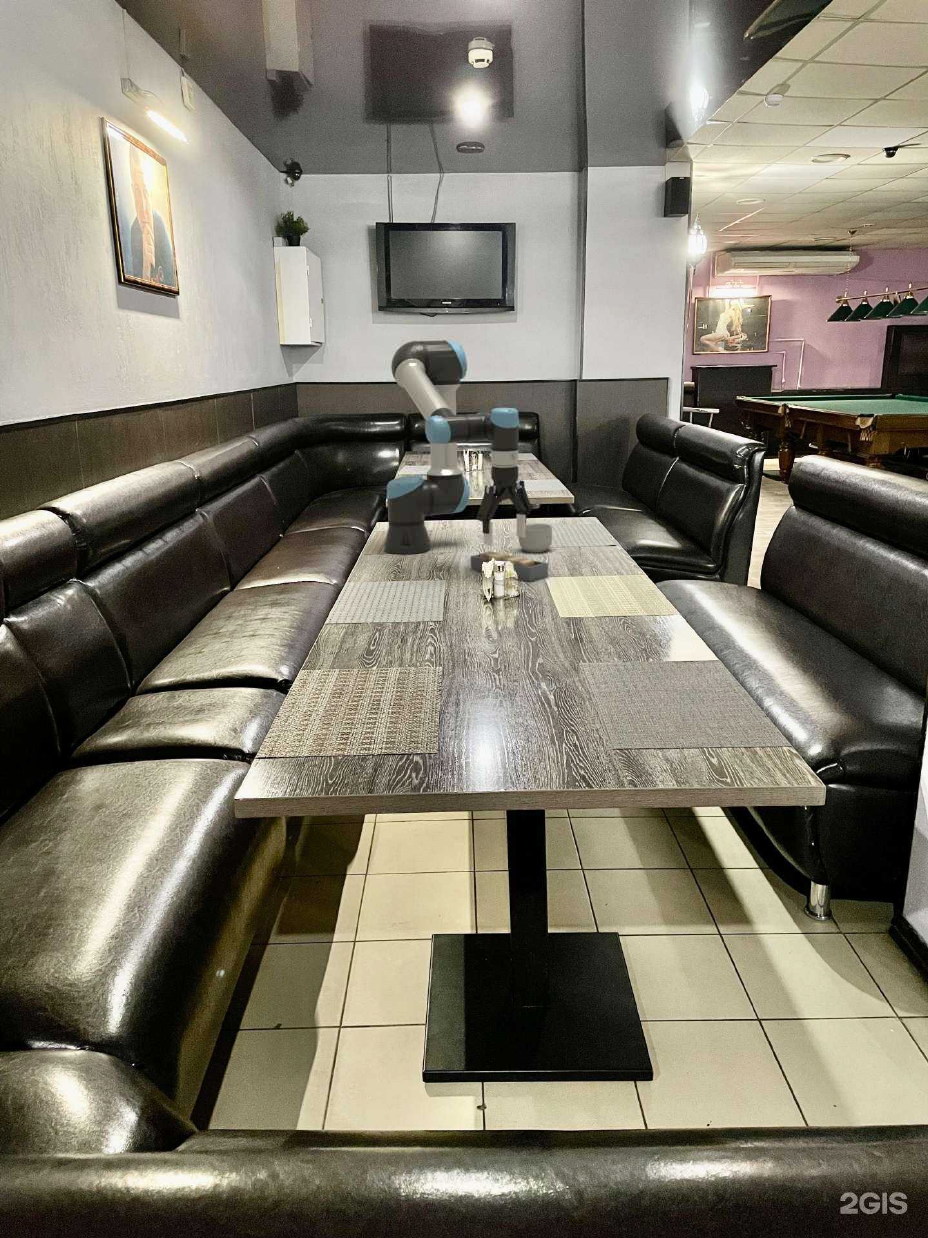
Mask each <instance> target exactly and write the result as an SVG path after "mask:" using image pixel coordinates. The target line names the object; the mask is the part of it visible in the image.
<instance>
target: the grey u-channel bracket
mask: <svg viewBox="0 0 928 1238" xmlns="http://www.w3.org/2000/svg"><path fill="white" fill-rule="evenodd" d="M483 562H488V559H487V558H482V557H480V554H475V555H471V556H470V571H476V572H481V573H483V572H482V564H483Z"/></svg>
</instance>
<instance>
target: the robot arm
mask: <svg viewBox="0 0 928 1238" xmlns="http://www.w3.org/2000/svg"><path fill="white" fill-rule="evenodd" d="M390 367H391V373H392V376H393V379H394V380H395V381H396V383H397V385H398V386H400V387H401V388H403V389H404V390H405V391H406V392H407V393H408V395H409V397H410V398H411V400H412V401H413V403H414V404H415V406H416V408H417V409H418V411H419V412H420V414H421V415H422V417H423V418H424V420H425V424H424V432H425V436H426V439H427V441H428V442H429V444H430V445H429V446H430V450H429V451H430V468H429V469H428V470H427V472H426V479H424V478H423V476H422V475H405V476H402V477H401V476H400V477H397V478H394V479H391V480H390V481H388V483H387V485H386V501H387V518H388V519H387V520H388V522H387V523H388V529H387V533H386V537H385V540H384V543H383V544H384V545H383V547H384V549H383V550H384V551H385V552H386V553H389V554H393V555H415V554H421V553H425V552H428V551H430V550H431V549H432V542H431V539H430V537H429V534H428V531H427V529H426V526H425V524H426V522H425V517H426V516H436V515H446V514H449V515H452V514H455V513H456V514H457V513H461V512H462V511H463V510H465V508H466V507H467V506H468V504H469V499H470V485H469V480H468V479H467V477H465V476H463V471H462V470H461V469H460V468H459V466H458V443H467V442H470V443H471V442H483V441H484V442H485V441H487V442H490V443H491V446H490V452H491V454H490V456H491V457H490V463H491V465H492V466H491V467H490V469H491V472H490V474H491V477H490V478H491V480H492V482H493V483H492V484H493V485H489V484H488V485H485V486H484V490H483V492H484V494H483V497H482V499H481V503H480V505H479V509H478V513H477V515H476V520H477V521H479V522H482V534H483V545H486V546H493V544H494V543H493V540H494V537H493V536H494V535H493V533H494V532H493V524H494V523H493V521H492V518H493V517H494V515H495V513H496V510H497V509H498V508H499V506H500V503H502V501H506V500H508V499H509V500H510V501H511V503H512V505H513V506H514V507H515V509H516V511H517V512H518V513H516V537H518V538H519V537H523V538H524V537H525V525H526V524H527V515H530V513H531V511H532V508H533V507H532V505H531V502H530V500H529V496H528V494H527V490H526V488H525V481H524V480H522V479H521V480H520V479H519V466H518V464H519V441H520V440H519V432H520V431H519V429H520V420H519V411H518V410H517V409H516V408H514V407H511V408H510V407H497V408H492V410H491V411H490V412H489V411H485V412H478V413H471V414H457V396H456V395H457V393H456V391H457V390H458V389H459V387H460V386H461V380H463V379H464V378H465V377H466V376H467V371H468V361H467V356H466V353H465V349H464V348H463V347H462V346H461V344H460V343H459V342H457V341H455V340H445V339H443V340H412V341H409V342H405V343H404V344H402V345H401V346H400V347H399V348H398V349H397V350H396V351H395V353H394V354H393V357H392V360H391V365H390Z"/></svg>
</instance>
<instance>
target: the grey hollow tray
mask: <svg viewBox="0 0 928 1238" xmlns="http://www.w3.org/2000/svg"><path fill="white" fill-rule="evenodd" d="M514 569H515V570H516V573H517V575H518V579H517V580H518V581H521V582H522V581H523V582H528V583H532V582H537V581H539V580H542V579H543V580H544V579H546V578H548V577H549V563H548V562H543V561H538V560H534V566H531V567H529V566H523V565H518V564H515V565H514Z"/></svg>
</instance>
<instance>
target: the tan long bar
mask: <svg viewBox="0 0 928 1238" xmlns="http://www.w3.org/2000/svg"><path fill="white" fill-rule="evenodd" d="M480 557H482V558H487V559H488V562H489V561H491V560H492V558H494V559H495V560H496V561H510V562H511V563H513V565H515V564H518V565H523V566H529V567H531V566H534V561H535V560H534V559H531V558H526V557H519V556H514V555H510V554H504V553H500V552H495V551H491V550H490V551H485V552H481V553H480Z"/></svg>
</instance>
